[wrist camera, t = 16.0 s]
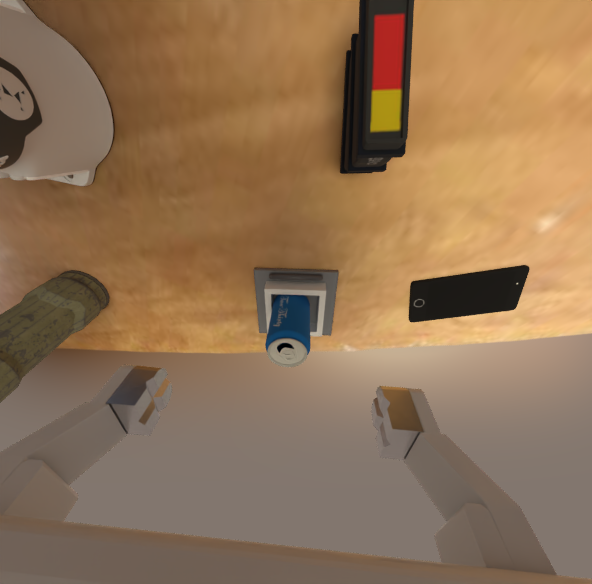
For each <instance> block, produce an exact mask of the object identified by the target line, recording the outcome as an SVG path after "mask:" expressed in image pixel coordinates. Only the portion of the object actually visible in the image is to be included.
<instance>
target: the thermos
mask: <svg viewBox="0 0 592 584" xmlns="http://www.w3.org/2000/svg"><path fill="white" fill-rule="evenodd" d="M108 303H109V295H108V292H107V290H106V289H105V287H104V286H103V285H102V284H101V283H100V282H99V281H98V280H97V279H96V278H94V277H92V276H90V275H89V274H86V273H83V272H80V271H67V272H64V273H63V274H61V275H60V276H58V277H57V278H52V279H51V280H49V281H47V282H46V283H44V284H42V285H41V286H39V287H37V288H36V289H34V290H33V291H31V292H30V293H28V294H27V295H25V297H24V298H23V300H22V301H21V302H20V303H19V304H17V305H16V306H14V307H12V308H11V309H9V310H7V311H6V312H4V313H3V314H1V315H0V402H2V401H3V400H4V399H5V398H6V397H7V396H8V395H9V394H10V393H12V391H14V390H15V389H16V388H17V387H18V386H19V384H20V382H21V379H22V377H24V376H25V375H26V374H27V373H28V372H29V371H30V370H31V369H32V368H34V367H35V366H36V365H37V364H38V363H39V362H41V361H42V360H43V359H44V358H45V357H46V356H47V355H48V354H50V353H51V352H52V351H53V350H54V349H55V348H56V347H58V346H59V345H60V344H61V343H62V342H63V341H64V340H65V339H67V338H68V337H69V336H70V335H71V334H73V333H75V332H77V331H80V330H82V329H83V328H84V327H85V326H86V325H88V324H89V323H90V322H91V321H92V320H93V319H94V318H95V317H96V316H98V314H99V312H100V311H101V310H102V309H104V308H105V307H106V306H107V305H108Z"/></svg>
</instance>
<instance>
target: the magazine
mask: <svg viewBox="0 0 592 584" xmlns="http://www.w3.org/2000/svg"><path fill="white" fill-rule="evenodd" d="M413 9H414V0H360V6H359V34H353V35H352V38H351V50H348V51H347V53H346V71H345V90H344V109H343V128H342V147H341V166H340V173H341V174H348V173H372V172H383V171H385V170H386V165H387V162H388V161H389V160H390V159H391V158H392V157H402V156H403V155H404V154H405V146H406V139H407V132H408V112H409V91H410V71H411V50H412V30H413Z"/></svg>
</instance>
